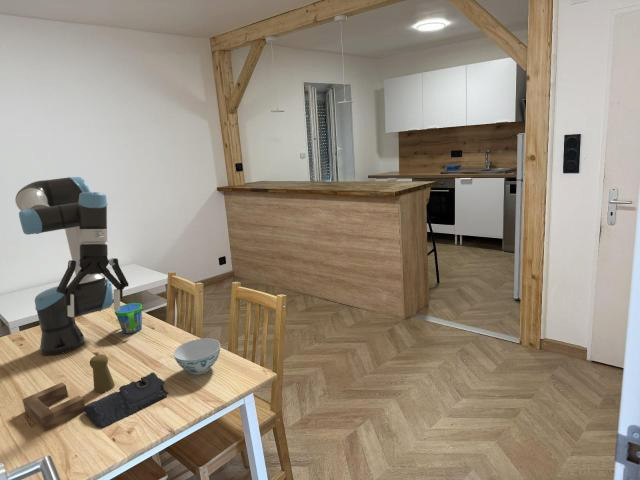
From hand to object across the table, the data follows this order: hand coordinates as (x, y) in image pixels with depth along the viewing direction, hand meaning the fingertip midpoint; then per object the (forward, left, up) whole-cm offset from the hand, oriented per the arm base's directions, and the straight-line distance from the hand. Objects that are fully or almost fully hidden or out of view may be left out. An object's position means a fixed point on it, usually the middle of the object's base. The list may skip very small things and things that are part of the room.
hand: (94, 313), depth 134 cm
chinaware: (-17, +22, -26) cm, 38 cm away
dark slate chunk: (+5, +11, -26) cm, 29 cm away
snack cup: (-38, -26, -26) cm, 53 cm away
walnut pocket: (+14, -7, -26) cm, 30 cm away
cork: (0, -2, -26) cm, 26 cm away
